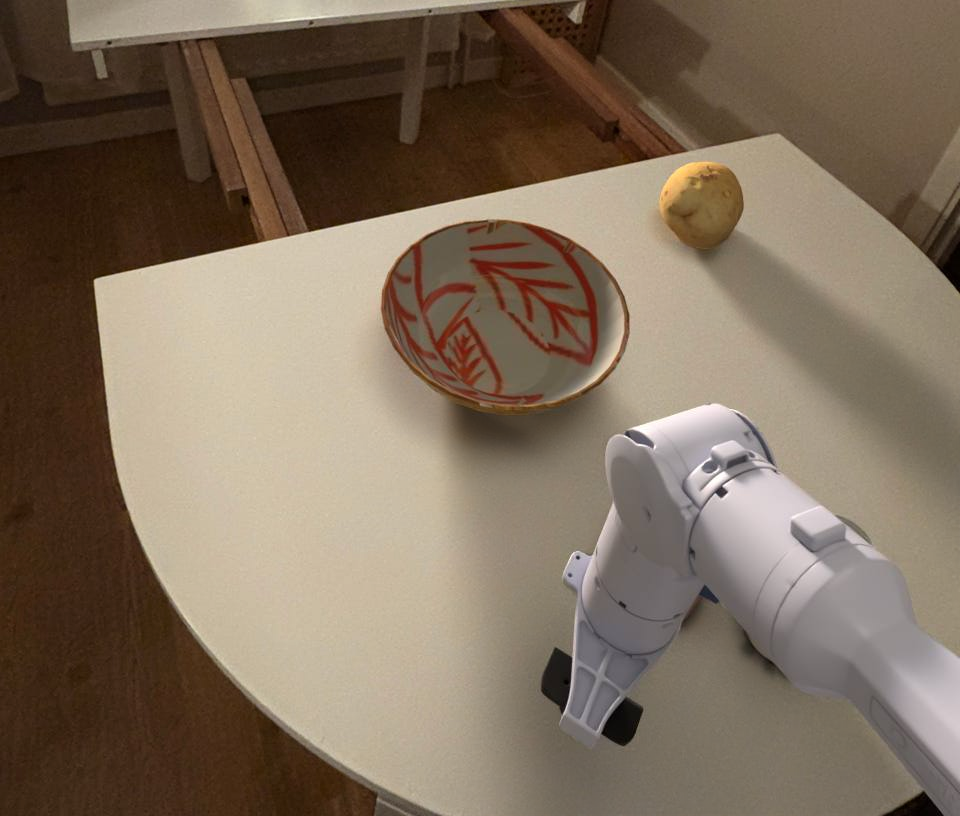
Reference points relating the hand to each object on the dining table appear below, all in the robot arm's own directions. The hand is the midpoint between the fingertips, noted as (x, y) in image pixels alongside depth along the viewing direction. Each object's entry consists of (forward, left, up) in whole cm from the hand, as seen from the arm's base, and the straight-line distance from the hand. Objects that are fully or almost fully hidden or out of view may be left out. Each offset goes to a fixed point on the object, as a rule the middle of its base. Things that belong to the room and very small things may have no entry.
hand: (600, 659), depth 50 cm
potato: (+47, -35, -11) cm, 60 cm away
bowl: (+33, -4, -11) cm, 35 cm away
